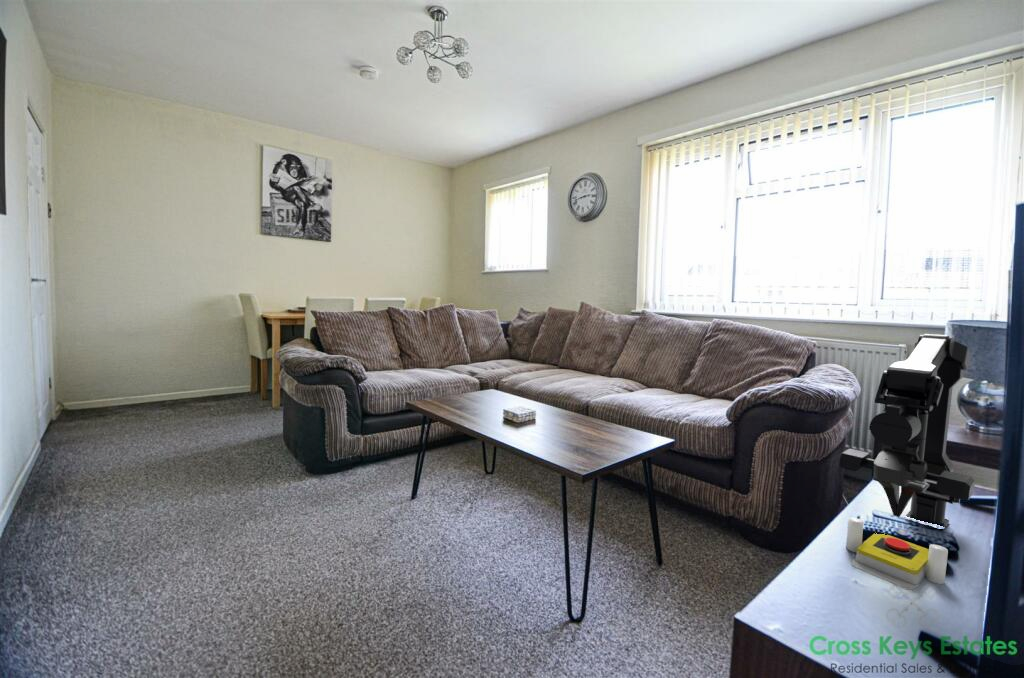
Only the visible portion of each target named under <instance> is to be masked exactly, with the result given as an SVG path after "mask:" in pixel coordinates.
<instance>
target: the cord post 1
mask: <svg viewBox="0 0 1024 678" xmlns="http://www.w3.org/2000/svg"><path fill="white" fill-rule="evenodd" d="M863 531H864V521H863V520H862V519H860V518H856V517H849V518H848V521H847V532H846V545H845V549H847V550H848V551H849V552H852V553H856V554H857V548H858V546H860V545H861V544H862V543H863Z"/></svg>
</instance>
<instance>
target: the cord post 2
mask: <svg viewBox="0 0 1024 678" xmlns="http://www.w3.org/2000/svg"><path fill="white" fill-rule="evenodd" d="M928 549H929V556H928V565H927V575H926V576H925V577H926V579H927V580H928V581H930V582H932V583H935V584H939V585H944V584H945V583H946V582H945V581H946V572H947V563H948V556H949V555H948V554H949V550H948V549H947V548H946V547H944V546H943V545H939V544H933V543H932V544H929V547H928Z"/></svg>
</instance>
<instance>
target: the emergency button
mask: <svg viewBox="0 0 1024 678" xmlns="http://www.w3.org/2000/svg"><path fill="white" fill-rule="evenodd" d="M875 533H876V532H875ZM875 533H873V534H872V535H870V536H869V537H868V538H867V539H866V540H864V541H862V544H861V545H860V546H858V548H857V553H856V555H855V558H854V559H853V560H852V561H851V562H850V565H851V566H852V567H853V568H855V569H857V570H860V571H863V572H865V573H867V574H869V575H872V576H874V577H877V578H879V579H882V580H884V581H886V582H888V583H892V584H893V585H896V586H899V587H901V588H903V589H906V590H909V591H910V590H911V591H913V590H915V589H916V588H917V586H918V585H919V584H920V583H921V582H922V581H923V580H924V579H925V577H926V575H927V565H928V556H929V548H926V547H923V546H921V545H917V544H915V543H912V542H909V541H906V540H903V539H900V538H898V537H895V536H892V535H889V534H887V535H885V534H886V533H884V534H877V533H876V534H875Z"/></svg>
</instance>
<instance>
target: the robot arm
mask: <svg viewBox="0 0 1024 678" xmlns="http://www.w3.org/2000/svg"><path fill="white" fill-rule="evenodd" d="M970 365H971V352H970V350H969V347H968V346H966V345H965V344H962V343H960V342H958V341H955V339H954V337H953V336H950V335H949V334H933V333H930V334H929V333H924V334H920V335H919V336H918V340H917V342H915V343H914V346H913V350H912V351H911V353H910V354H909V355H908V357H907V358H906V360H902V361H900V360H899V361H896V362H893V363H892V364H890V366H888V368H887V370H884V371H883V372H882V374H881V378H880V381H879V384H878V389H877V392H876V395H875V398H874V404H880V405H884V410H883V411H882V412H880V413H879V414H876V415H875V416H874V417H873V418H871V421H870V422H869V430H870V433H871V435H872V437H873V438H874V439H875V440H876V441H878V442H879V443H881V444H882V447H881V449H880V450H879V452H878V454H877V456H876V458H875V459H873V458H871V454H870V452H866V451H863V450H862V451H861V450H859V449H858V450H857V449H853V448H848V449H846V450H844V451H843V452H841V453H839V454H838V456H837V457H836V458H837V461H836V466H837V467H838V468H840V469H845V470H848V471H852V472H856V471H858V470H860V469H861V468H867V469H870V470H873V476H871V478H872V481H875V482H878V483H879V484H880V486H881V487H882V489H883V490H884V492H885V494H886V497H887V500H888V503H889V506H890V508H891V509H890V510H891V512H892V515H893V516H894V517H897V518H900V517H901V516H902V514H903V512H904V510H905V509H906V507H907V505H908V504H909V502H910V500H911V502H910V510H909V511H908V512H907V514H906V515H905V516H907V517H910V518H914V519H916V520H920V521H924V522H928V523H932V524H937V525H940V526H943V527H945V526H946V527H947V526H948V525H949V523H950V520H949V519H946V509H947V503H948V504H951V505H953V504H960V500H963V501H969V500H970V498H971V497H972V496H973V494H974V493H975V484H976V482H975V480H974V479H973V477H972V476H971V475H967V474H963V473H957V472H954V471H955V465H954V463H953V462H952V461H951V459H950V458H949V456H948V454H947V451H946V450H947V440H948V432H949V424H950V423H949V422H950V414H951V405H952V396H953V388H954V387H955V386H956V385H957V384H958V383H959V382H960V381H961V380H962V379H963V378H964V377H965V372H966V371H969V368H970ZM946 527H945V528H946Z"/></svg>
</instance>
